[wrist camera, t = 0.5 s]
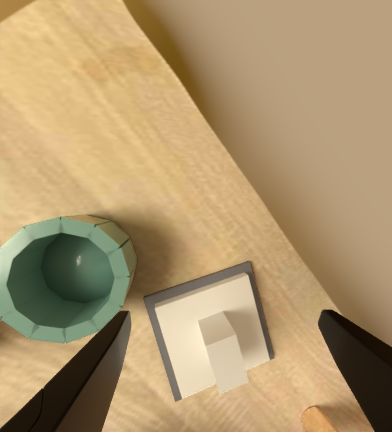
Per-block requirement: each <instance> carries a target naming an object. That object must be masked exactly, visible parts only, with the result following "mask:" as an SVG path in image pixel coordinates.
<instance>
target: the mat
mask: <svg viewBox="0 0 392 432" xmlns="http://www.w3.org/2000/svg"><path fill="white" fill-rule="evenodd" d="M244 272H245V273H246V274H247V275H248V276H249V280H250V284H251V288H252V292H253V296H254V300H255V304H256V308H257V312H258V316H259V320H260V324H261V327H262V331H263V335H264V339H265V343H266V347H267V351H268V355H269V359H270V360H271V359H274V355H273V351H272V347H271V343H270V339H269V335H268V331H267V327H266V323H265V319H264V315H263V311H262V307H261V304H260V300H259V296H258V292H257V288H256V284H255V280H254V276H253V272H252V268H251V264H250V262H249V261H247V262H244V263H241V264H238V265H235V266H233V267H230V268H227V269H224V270H221V271H218V272H215V273H212V274H209V275H206V276H203V277H200V278H197V279H195V280H192V281H189V282H186V283H183V284H180V285H177V286H174V287H171V288H168V289H165V290H162V291H159V292H157V293H154V294H151V295H148V296H145V297H144V302H145V305H146V308H147V311H148V315H149V318H150V321H151V324H152V327H153V331H154V334H155V337H156V340H157V344H158V347H159V350H160V353H161V357H162V360H163V363H164V366H165V370H166V373H167V376H168V379H169V383H170V386H171V389H172V392H173V396H174V399H175V402H176V401H178V400H181V399H182V397H181V393H180V390H179V387H178V383H177V380H176V377H175V374H174V370H173V367H172V364H171V360H170V357H169V354H168V351H167V347H166V344H165V341H164V337H163V334H162V331H161V328H160V324H159V321H158V318H157V314H156V311H155V304H156V303H158V302H161V301H164V300H167V299H170V298H173V297H176V296H178V295H181V294H184V293H187V292H190V291H193V290H195V289H198V288H201V287H204V286H207V285H210V284H213V283H215V282H218V281H221V280H224V279H227V278H230V277H233V276H235V275H238V274H241V273H244Z"/></svg>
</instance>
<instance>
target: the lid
mask: <svg viewBox="0 0 392 432" xmlns="http://www.w3.org/2000/svg"><path fill="white" fill-rule="evenodd" d="M155 311H156V314H157V318H158V321H159V324H160V328H161V331H162V334H163V337H164V341H165V344H166V347H167V351H168V354H169V357H170V360H171V364H172V367H173V370H174V374H175V377H176V380H177V383H178V387H179V390H180V393H181V397H182V399H184V398H186V397H188V396H190V395H193V394H195V393H197V392H199V391H202V390H204V389H206V388H209V387H211V386H213V385H215V384H216V385H217V388H218V392H219V395H221V394H223V393H225V392H227V391H230V390H232V389H234V388H236V387H238V386H241V385H243V384H245V383H247V382H249V381H248V377H247V373H246V371H247V370H249V369H252V368H254V367H256V366H258V365H261V364H263V363H265V362H267V361H270V359H269V355H268V351H267V347H266V343H265V339H264V335H263V331H262V327H261V324H260V320H259V316H258V312H257V308H256V304H255V300H254V296H253V292H252V288H251V284H250V280H249V276H248V275H247V274H246V273H245V272H244V273H241V274H238V275H235V276H233V277H230V278H227V279H224V280H221V281H218V282H215V283H213V284H210V285H207V286H204V287H201V288H198V289H195V290H193V291H190V292H187V293H184V294H181V295H178V296H176V297H173V298H170V299H167V300H164V301H161V302H158V303H156V304H155Z"/></svg>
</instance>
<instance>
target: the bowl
mask: <svg viewBox="0 0 392 432" xmlns="http://www.w3.org/2000/svg"><path fill="white" fill-rule="evenodd" d="M129 238H130V237H129V236H128V235H127V234H126V233H125V232H124V231H123V230H122V229H121V228H119V227H118V226H117V225H116V224H115V223H114V222H113V221H112V222H111V220H106V219H102V218H98V217H94V216H89V215H77V216H66V217H57V218H54V219H50V220H46V221H42V222H38V223H34V224H30V225H26V226H25V227H22V228H21V229H20V230H19V231H18V232H17V233H16V234H15V235H14V236H12V237H11V238H10V239H9V240H8V241H7V242H6V243H5V244H4V245H3V246H2V247H1V248H0V317H2V316H3V317H2V318H1V320H2V321H4V322H5V323H6V324H8V325H9V326H11V327H12V328H13V329H15V330H16V331H18V332H19V333H20V334H22V335H23V336H25V337H26V338H27V339H28V338H29V337H30V336H31V337H30V340H38V341H47V342H56V343H65V341H66V343H68V342H71V341H74V340H77V339H79V338H82V337H85V336H88V335H91V334H93V333H96V332H98V331H99V330H101V329H102V328H103V327H104V326H105V325H106V324H107V323H108V322H109V321H110V320H111V318H112V317H113V316H114V315H115V314H116V313H117V312H118V311H119V310H120V309H121V308H122V306H123V304H124V301H125V299H126V296H127V294H128V292H129V289H130V287H131V284H132V281H133V277H134V273H135V269H136V265H137V257H136V253H135V250H134V247H133V244H132V240H131V239H129Z"/></svg>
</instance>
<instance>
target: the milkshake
mask: <svg viewBox="0 0 392 432" xmlns="http://www.w3.org/2000/svg"><path fill="white" fill-rule="evenodd" d="M302 424H303V426H304V428H305V430H306V432H340V431H339V430H338V428H337V427H336V426H335V425H334V424H333V423H332V422H331V420H330V419H329V418H328V417H327V416H326V415H325V414H324V412H323V411H322V410H321V409H319V408H317V407H315V406H314V407H311V408H308V409H307V410H306V411H305V413H304V414H303V417H302Z"/></svg>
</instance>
